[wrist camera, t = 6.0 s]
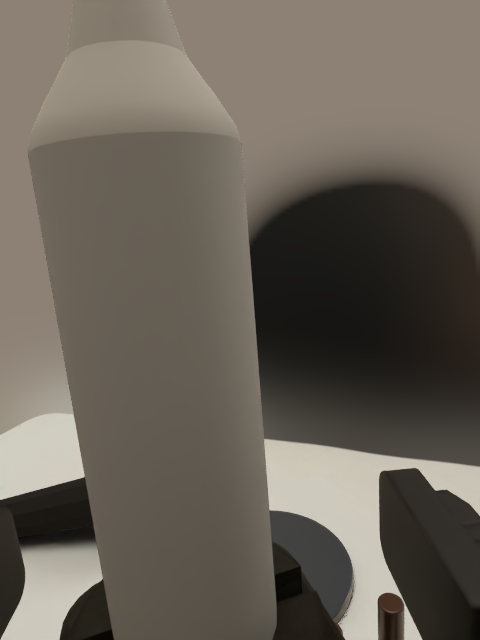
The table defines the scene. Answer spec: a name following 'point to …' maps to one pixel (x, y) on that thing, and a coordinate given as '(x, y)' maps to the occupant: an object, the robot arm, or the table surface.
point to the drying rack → (389, 617)
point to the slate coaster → (316, 558)
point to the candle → (160, 340)
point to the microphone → (51, 508)
